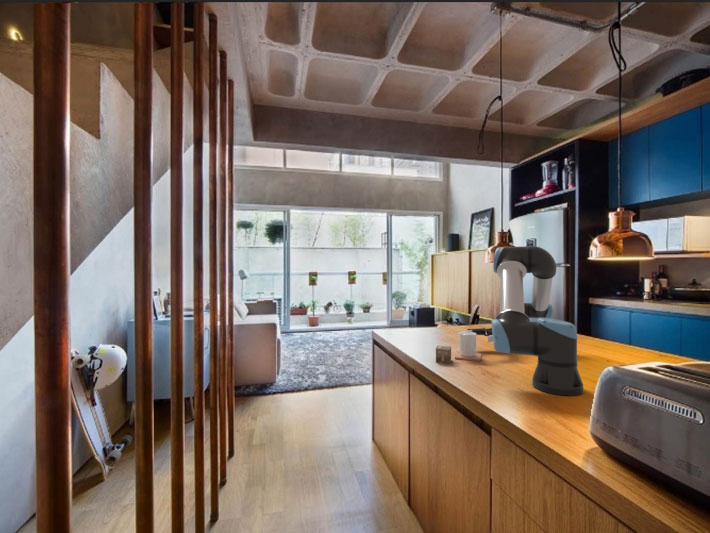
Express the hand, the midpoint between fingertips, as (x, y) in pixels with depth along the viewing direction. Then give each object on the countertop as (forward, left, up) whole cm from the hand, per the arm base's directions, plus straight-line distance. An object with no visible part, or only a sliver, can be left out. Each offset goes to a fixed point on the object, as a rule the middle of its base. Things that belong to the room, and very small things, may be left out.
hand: (475, 336), depth 163 cm
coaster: (-5, +3, -8) cm, 10 cm away
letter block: (-15, +13, -9) cm, 22 cm away
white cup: (-5, +3, -8) cm, 10 cm away
